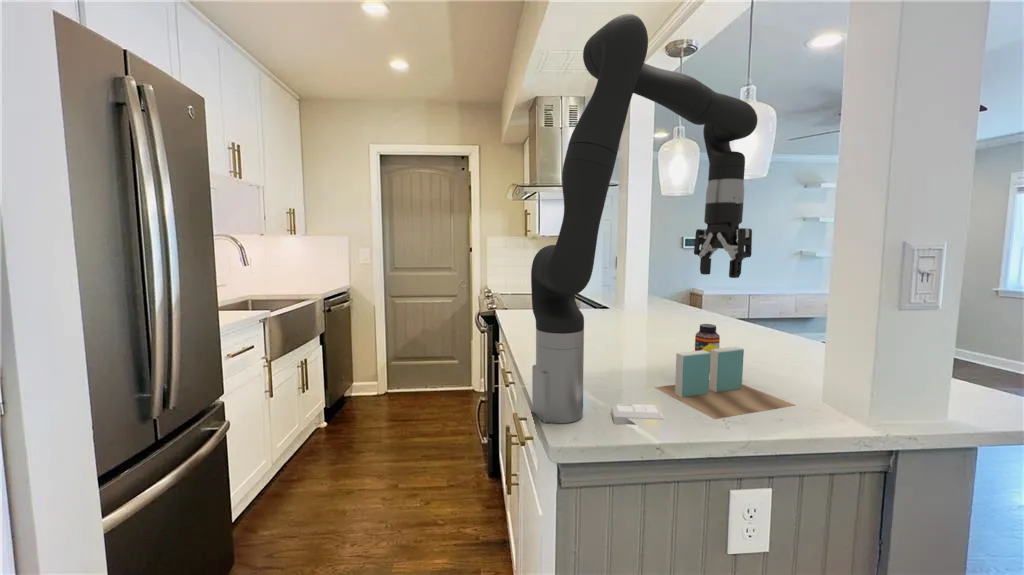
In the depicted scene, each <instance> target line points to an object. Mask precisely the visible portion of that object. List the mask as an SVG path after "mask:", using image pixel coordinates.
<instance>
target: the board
mask: <svg viewBox="0 0 1024 575" xmlns="http://www.w3.org/2000/svg"><path fill="white" fill-rule="evenodd" d="M654 388H655V389H656V390H658V391H660V392H662V393H664V394H665V395H668V396H670V397H671V398H674V399H675V400H677V401H679V402H682V403H683V404H685V405H687V406H689V407H691V408H692V409H695V410H696V411H699V412H700V413H702V414H704V415H706V416H708V417H710V418H712V419H714V420H719V419H724V418H731V417H735V416H742V415H748V414H753V413H760V412H764V411H765V412H766V411H770V410H777V409H783V408H790V407H796V404H794V403H791V402H788V401H786V400H784V399H781V398H779V397H776V396H773V395H771V394H768V393H766V392H763V391H761V390H758V389H755V388H752V387H750V386H748V385H745V384H743V383H742V388H741V389H736V390H729V391H722V392H714V391H712V390H709V393H708V394H701V395H694V396H687V397H679V396H678V395H676V394H675V384H671V385H662V386H661V385H660V386H655V387H654Z"/></svg>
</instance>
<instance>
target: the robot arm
mask: <svg viewBox="0 0 1024 575" xmlns="http://www.w3.org/2000/svg"><path fill="white" fill-rule="evenodd" d="M648 49H649V37H648V30H647V27H646V26H645V23H644V22H643V20H642V19H641V18H640V17H639V16H637V15H635V14H633V13H625V14H621V15H618V16H616V17H614V18H613V19H611V20H610V21H608V22H607V23H606V24H604V25H603V26H602V27H601V28H599V29H598V30H597V31H595V32H594V34H593V35H591V36H590V38H588V40H587V41H586V43H585V44H584V47H583V52H582V59H583V63H584V67H585V68H586V70H587V72H588V73H589V74H590V75H591V76H592V77H593V78H594V79H596V80H597V82H596V85H595V88H594V91H593V93H592V96H591V97H590V99H589V101H588V103H587V104H586V106H585V108H584V110H583V112H582V114H581V115H580V117H579V119H578V120H577V123H576V125H575V127H574V129H573V131H572V134H571V136H570V138H569V141H568V145H567V149H566V154H565V158H564V162H563V165H562V172H561V188H562V196H563V217H562V222H561V226H560V230H559V233H558V236H557V237H558V238H557V240H556V242H555V244H549V245H546V246H544V247H542V248H541V249H539V250H538V251H537V253H536V254H535V255H534V258H533V260H532V264H531V269H530V270H531V272H530V283H531V287H530V288H531V307H532V312H533V316H534V319H535V364H533V365H532V366H531V367H532V368H531V369H532V376H531V377H532V382H531V383H532V386H531V389H532V393H531V394H532V397H531V398H532V400H531V401H532V404H531V405H532V412H533V413H534V415H536V416H537V418H538V419H539V420H540V421H542V423H555V424H569V423H572V422H573V423H574V422H576V421H578V420H580V419H582V418H583V417H584V416H583V415H584V354H585V353H584V352H585V350H584V349H585V348H584V347H585V346H584V344H585V318H584V314H583V312H582V311H581V310H580V308H579V307H578V304H577V301H576V295H578V294H580V293H581V292H582V291H583V290H584V289H585V288H587V286H588V284H589V282H590V280H591V278H592V276H593V275H592V274H593V269H594V265H595V258H596V250H597V248H596V247H597V244H598V235H599V230H600V223H601V220H602V216H603V211H604V209H605V208H604V207H605V203H606V199H607V195H608V191H609V187H610V184H611V179H612V177H613V174H614V168H615V164H616V160H617V157H618V153H619V148H620V147H619V146H620V142H621V138H622V135H623V131H624V127H625V124H626V119H627V115H628V113H629V112H628V111H629V107H630V103H631V100H632V98H633V97H632V96H633V94H635V95H637V96H640V97H643V98H645V99H647V100H649V101H652V102H654V103H656V104H658V105H661V106H662V107H664V108H666V109H668V110H669V111H671V112H673V113H675V114H676V115H678V116H679V117H681V118H682V119H684V120H686V121H688V122H689V123H691V124H693V125H697V126H703V133H702V134H703V140H704V145H705V148H706V149H705V150H706V154H707V159H708V163H709V166H708V180H707V187H706V194H705V207H704V223H705V224H706V225H707V227H706V229H703V228H702V229H701V228H698V229H696V230H695V236H694V237H695V239H694V247H693V248H694V249H693V254H694V255H695V256H698V257H699V259H700V262H699V272H700V275H706V276H707V275H710V274H711V268H712V255H714V253H715V252H716V251H718V250H719V249H722V250H723V249H724V251H725V252H727V253H728V255H729V257H730V259H731V260H729V266H728V268H729V270H728V277H729V278H731V279H738V278H740V276H741V274H742V264H743V263H742V262H743V260H745V259H747V258H751V257H752V248H753V247H752V246H753V244H752V241H753V240H752V239H753V229H752V228H746V227H741V228H740V226H739V225H740V224H742V223H743V213H744V199H745V184H744V183H745V181H744V180H745V171H746V157H745V155H744V154H743V152H740V151H736V150H735V151H732V149H731V144H730V142H734V141H737V140H743V139H745V138H747V137H748V136H751V134H753V133H754V131H755V130H756V128H757V126H758V115H757V112H756V110H755V109H754V107H753V106H752V105H751V104H750V103H749V102H747V101H745V100H742V99H740V98H737V97H733V96H730V95H727V94H724V93H721V92H720V93H719V92H717V91H714V90H713V89H712V88H710V87H709V86H707V85H706V84H704V83H702V81H699V80H698V79H696V78H695V77H693V76H690V75H687V74H684V73H681V72H678V71H677V72H676V71H671V70H668V69H662V68H659V67H656V66H653V65H650V64H649V63H648V64H647V63H645V60H646V57H647V52H648Z"/></svg>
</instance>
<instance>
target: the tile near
mask: <svg viewBox="0 0 1024 575" xmlns="http://www.w3.org/2000/svg"><path fill="white" fill-rule="evenodd" d="M675 354H676V356H675V357H676V358H675V359H676V360H675V384H674V385H675V394H676V395H678V396H679V397H687V396H694V395H701V394H708V393H709V380H710V352H707V351H704V350H701V351H695V350H693V351H681V352H676V353H675Z"/></svg>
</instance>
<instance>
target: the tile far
mask: <svg viewBox="0 0 1024 575" xmlns="http://www.w3.org/2000/svg"><path fill="white" fill-rule="evenodd" d="M744 352H745V350H744V348H742V347H739V346H731V347H721V348H720V347H719V349H711V358H710V372H709V390H712V391H714V392H722V391H729V390H736V389H741V388H742V384H743V373H744V372H743V370H744V356H745V355H744Z"/></svg>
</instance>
